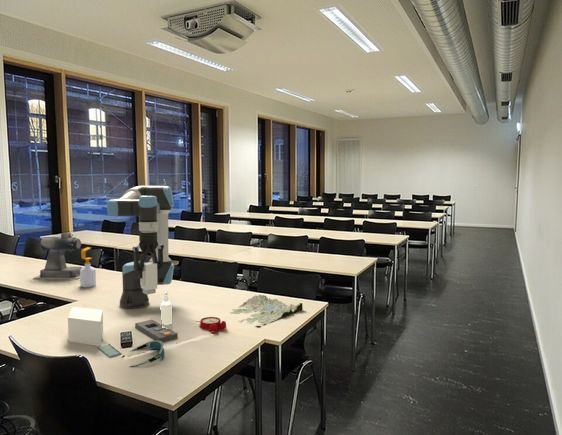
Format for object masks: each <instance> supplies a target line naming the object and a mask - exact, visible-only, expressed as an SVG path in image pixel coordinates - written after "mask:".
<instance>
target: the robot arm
mask: <svg viewBox="0 0 562 435" xmlns="http://www.w3.org/2000/svg"><path fill="white" fill-rule="evenodd" d="M173 196H174V195H173V191H172V188H171V186H167V185H138V186H133V187H131V188H129V189H127V190H125V191H124V193H123V195H122V196H121V197H119V198H118V199H116V198H113V199H108V201H107V203H106V211H107V215H108V216H110V217H138V231H139V232H138V236H139V240H138V241H139V243H138V244H137V245H136V246H133V247H132V251H133V261H131V262H127V263H125V264H124V265H122V273H121V274H122V275H121V276H122V293H121V296H120V299H119V307H120V308H124V309H137V308H138V309H139V308H144V307H147V306H148V305H149V304H150V298H149V296H148V295H149V294H145V293H143V289H142V288H141V286H145V271H143V267H144V263H146V258H147V256H148V254H150V255H151V258H150V259H149V261H148V262H153V263H156V264H157V286H163V285H170V284H171V283H172V282H173V275H174V269H175V263H174V262H172V259H171V258H170V257H169V214H170V212H171V211H172V208H174V206H175V205H174V204H175V202H174V197H173ZM140 250H141V251H140Z"/></svg>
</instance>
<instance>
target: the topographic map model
mask: <svg viewBox="0 0 562 435" xmlns="http://www.w3.org/2000/svg"><path fill="white" fill-rule="evenodd" d="M244 307H245V308H246V309H245V308H244ZM231 309H232V311H228V313H230V314H231V315H233V314H234V315H240V314H242V313H243V314H250V313H254V314H250V316H249V317H246V318H245V319H244V318H243V319H241V320H238V322H237V323H243V322H244V321H246V323H245V324H247V325H251V324H252V325H253V323H255V321H257V324H260V325H254V327H255V328H258V329H259V328H261V327H262V326H267V325H269V324H271V323H273V322H276V321H278V320H281V319H283V318H287V317H288V316H292V315H294V314H297V313H298V312H301V310H302V311H303V310H304V309H303V303H302V302H299V303H297V304H295V305H294V304H289V305H287V304H286V303H284V302H282V301H281V300H279V299H277V298H275V299H271V298H268V297H267V295H264V294H259V295H253V296H252V297H251V298H248V299H247V300H246V301H244V302H243V303H242V304H241V305H239V306H238V307H237V308H231ZM296 312H297V313H296ZM293 313H294V314H293ZM291 314H292V315H291Z"/></svg>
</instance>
